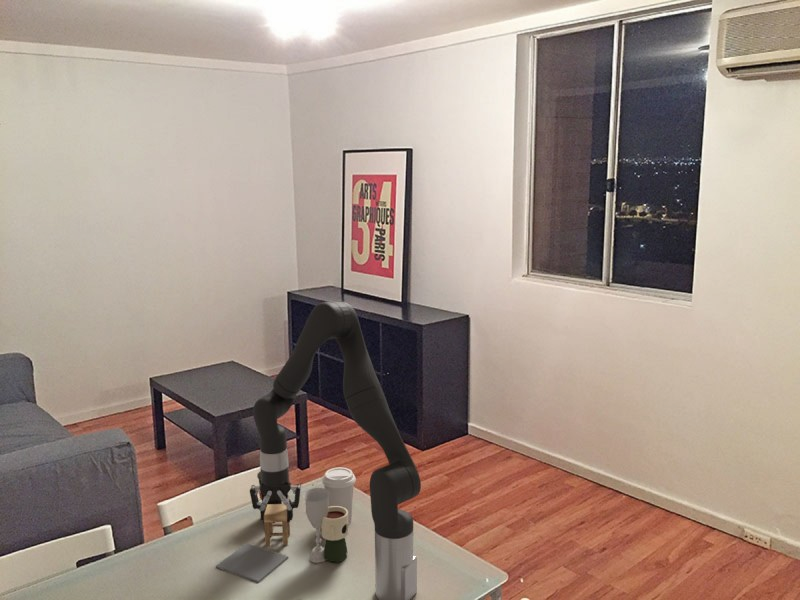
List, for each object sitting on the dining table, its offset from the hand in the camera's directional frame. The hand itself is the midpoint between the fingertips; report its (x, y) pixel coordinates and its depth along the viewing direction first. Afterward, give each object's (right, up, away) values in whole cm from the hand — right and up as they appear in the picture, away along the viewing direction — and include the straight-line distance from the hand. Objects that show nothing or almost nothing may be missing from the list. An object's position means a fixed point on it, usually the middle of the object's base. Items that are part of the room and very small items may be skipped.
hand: (277, 520), depth 189 cm
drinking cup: (-4, -3, +13) cm, 14 cm away
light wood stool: (0, -6, +1) cm, 6 cm away
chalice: (+12, -7, -7) cm, 16 cm away
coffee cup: (+16, -4, +10) cm, 20 cm away
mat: (-5, -8, -10) cm, 13 cm away
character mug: (+17, -7, -7) cm, 20 cm away
